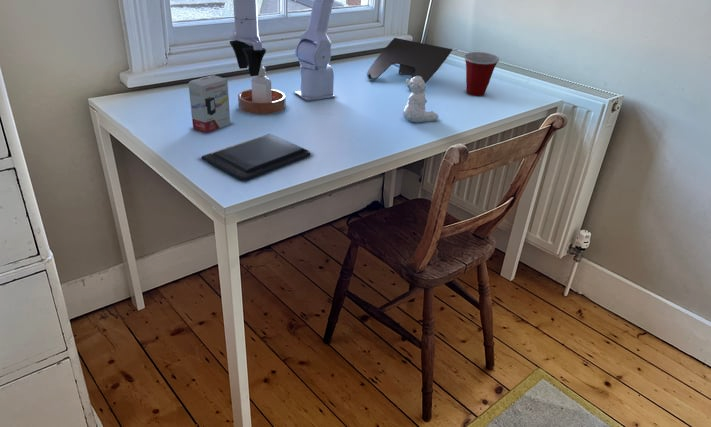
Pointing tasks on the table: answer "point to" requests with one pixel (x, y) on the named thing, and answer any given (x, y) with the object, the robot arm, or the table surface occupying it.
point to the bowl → (264, 107)
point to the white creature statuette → (417, 102)
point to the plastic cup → (479, 71)
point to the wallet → (256, 157)
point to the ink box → (209, 103)
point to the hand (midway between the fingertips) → (248, 71)
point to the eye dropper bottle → (261, 87)
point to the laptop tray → (410, 59)
